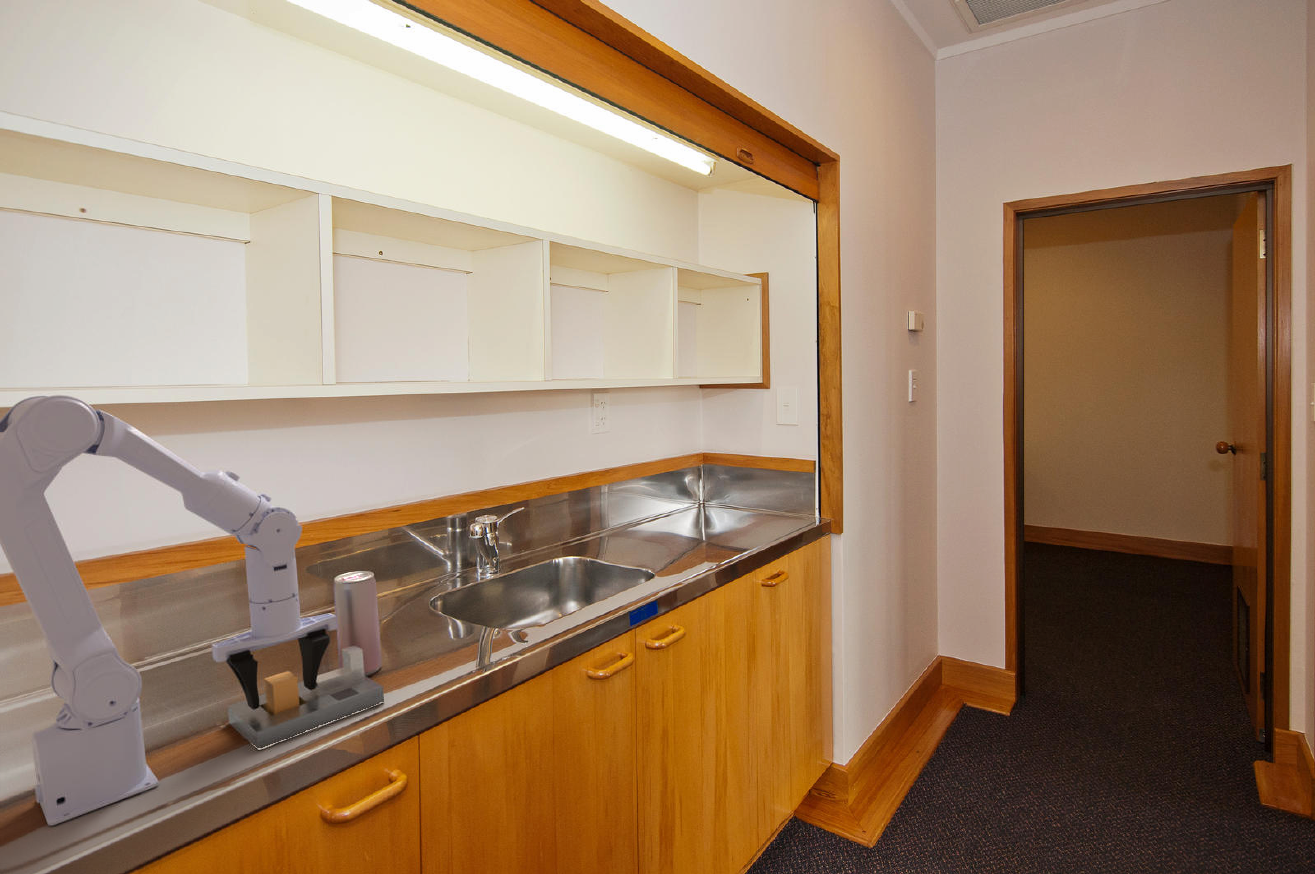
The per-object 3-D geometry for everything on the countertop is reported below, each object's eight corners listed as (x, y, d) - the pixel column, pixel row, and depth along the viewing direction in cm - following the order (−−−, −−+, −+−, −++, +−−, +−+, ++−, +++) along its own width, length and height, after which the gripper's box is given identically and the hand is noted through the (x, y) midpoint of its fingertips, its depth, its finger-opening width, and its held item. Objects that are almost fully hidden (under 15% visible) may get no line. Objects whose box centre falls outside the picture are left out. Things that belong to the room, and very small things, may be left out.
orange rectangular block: (276, 729, 91) (272, 684, 91) (268, 722, 93) (264, 678, 93) (300, 720, 93) (297, 676, 93) (292, 713, 96) (288, 671, 95)
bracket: (318, 695, 95) (315, 664, 95) (311, 690, 97) (308, 659, 96) (364, 679, 100) (362, 649, 99) (356, 675, 101) (354, 645, 101)
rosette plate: (258, 751, 86) (256, 732, 86) (229, 723, 93) (227, 705, 93) (384, 703, 98) (383, 686, 97) (349, 681, 105) (348, 666, 105)
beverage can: (334, 671, 109) (326, 577, 108) (372, 660, 113) (365, 568, 112) (349, 682, 105) (341, 584, 103) (388, 670, 109) (381, 575, 108)
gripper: (318, 578, 100) (325, 670, 101) (200, 605, 89) (210, 708, 90) (340, 587, 95) (347, 684, 96) (218, 616, 84) (228, 725, 86)
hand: (282, 697), depth 93 cm, fingers open, 6 cm apart
